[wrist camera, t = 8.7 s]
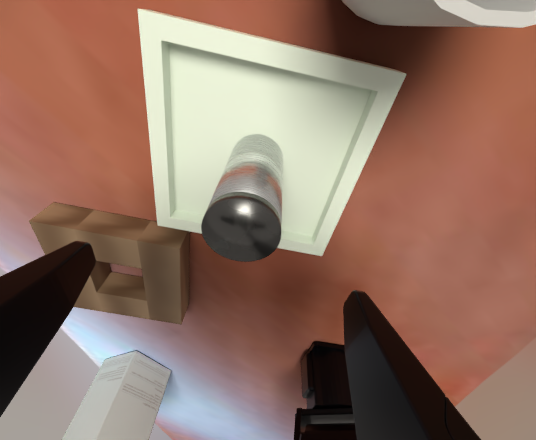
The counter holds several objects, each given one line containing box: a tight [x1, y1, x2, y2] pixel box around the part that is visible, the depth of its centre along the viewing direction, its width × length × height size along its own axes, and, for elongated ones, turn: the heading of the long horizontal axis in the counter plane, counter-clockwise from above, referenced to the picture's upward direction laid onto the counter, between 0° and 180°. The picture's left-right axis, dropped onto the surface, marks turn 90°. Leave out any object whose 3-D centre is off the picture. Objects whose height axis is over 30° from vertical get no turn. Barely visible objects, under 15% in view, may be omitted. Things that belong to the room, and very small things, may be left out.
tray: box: [138, 9, 406, 256], centre depth 17 cm, size 13×13×2 cm
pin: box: [201, 134, 283, 262], centre depth 14 cm, size 3×3×8 cm
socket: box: [29, 202, 190, 324], centre depth 23 cm, size 11×11×2 cm
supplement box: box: [62, 351, 171, 440], centre depth 34 cm, size 7×7×13 cm
